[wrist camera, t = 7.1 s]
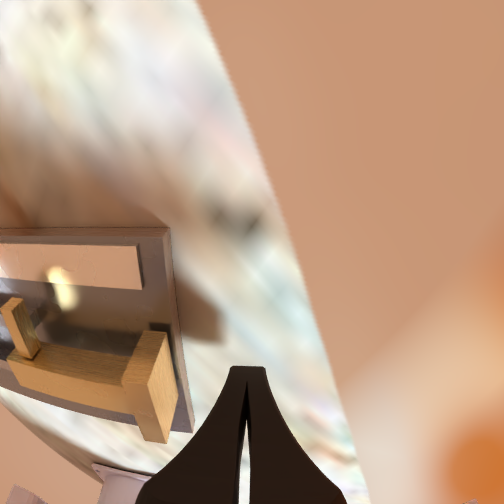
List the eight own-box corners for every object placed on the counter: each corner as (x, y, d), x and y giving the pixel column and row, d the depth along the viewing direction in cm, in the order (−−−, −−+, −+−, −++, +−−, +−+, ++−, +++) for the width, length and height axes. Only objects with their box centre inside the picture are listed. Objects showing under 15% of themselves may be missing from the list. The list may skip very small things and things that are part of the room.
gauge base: (194, 420, 17) (182, 497, 12) (2, 376, 17) (-30, 422, 12) (169, 227, 12) (114, 304, 7) (-55, 230, 12) (-112, 267, 7)
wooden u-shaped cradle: (178, 394, 14) (166, 444, 11) (47, 371, 14) (24, 407, 11) (161, 299, 12) (137, 350, 9) (13, 285, 12) (-24, 318, 9)
